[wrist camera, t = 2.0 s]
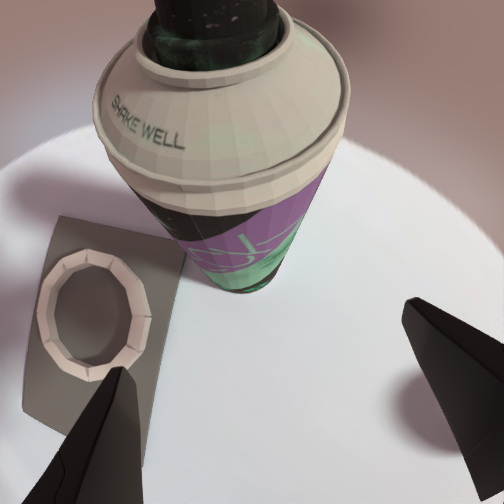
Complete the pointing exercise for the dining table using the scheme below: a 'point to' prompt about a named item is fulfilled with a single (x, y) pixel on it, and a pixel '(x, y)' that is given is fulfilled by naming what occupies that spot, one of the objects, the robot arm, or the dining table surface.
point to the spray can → (224, 128)
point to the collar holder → (99, 319)
